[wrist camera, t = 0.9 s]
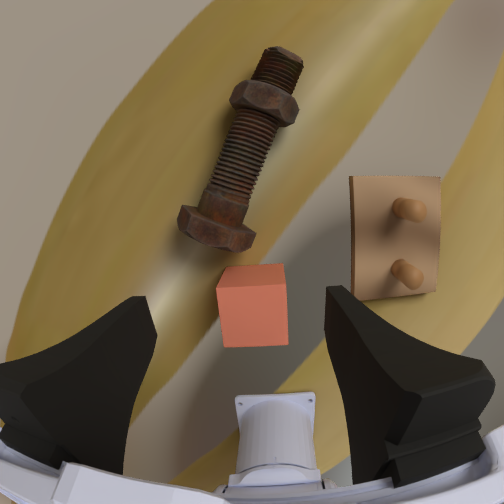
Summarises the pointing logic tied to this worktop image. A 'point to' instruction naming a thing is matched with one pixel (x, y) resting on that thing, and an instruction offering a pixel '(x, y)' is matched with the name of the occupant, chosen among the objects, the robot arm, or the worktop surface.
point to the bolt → (245, 152)
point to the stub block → (394, 235)
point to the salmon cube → (253, 305)
